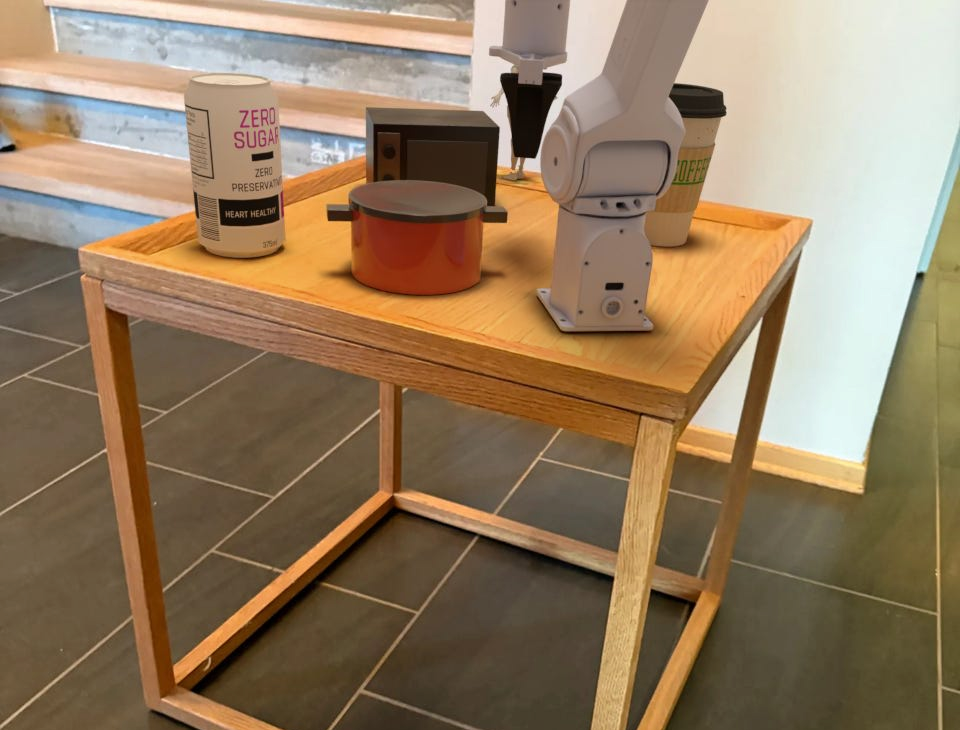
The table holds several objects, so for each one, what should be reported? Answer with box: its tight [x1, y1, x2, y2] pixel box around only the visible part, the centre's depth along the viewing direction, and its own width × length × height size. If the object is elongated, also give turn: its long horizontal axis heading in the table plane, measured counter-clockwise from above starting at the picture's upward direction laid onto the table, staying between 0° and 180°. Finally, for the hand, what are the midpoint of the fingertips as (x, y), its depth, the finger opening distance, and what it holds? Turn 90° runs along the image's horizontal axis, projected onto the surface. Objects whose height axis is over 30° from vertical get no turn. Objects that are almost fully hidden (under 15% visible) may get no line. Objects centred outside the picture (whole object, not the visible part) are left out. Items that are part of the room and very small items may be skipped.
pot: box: [325, 180, 509, 296], centre depth 87 cm, size 12×16×7 cm
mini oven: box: [365, 106, 501, 206], centre depth 110 cm, size 11×14×9 cm
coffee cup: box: [644, 82, 728, 248], centre depth 100 cm, size 10×10×15 cm
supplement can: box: [183, 72, 286, 259], centre depth 89 cm, size 8×8×15 cm
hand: (525, 156), depth 91 cm, fingers closed
